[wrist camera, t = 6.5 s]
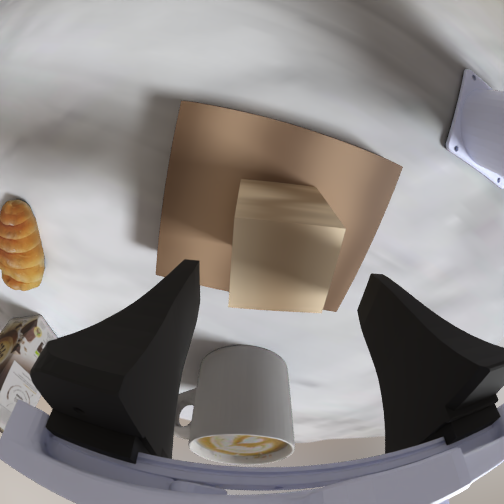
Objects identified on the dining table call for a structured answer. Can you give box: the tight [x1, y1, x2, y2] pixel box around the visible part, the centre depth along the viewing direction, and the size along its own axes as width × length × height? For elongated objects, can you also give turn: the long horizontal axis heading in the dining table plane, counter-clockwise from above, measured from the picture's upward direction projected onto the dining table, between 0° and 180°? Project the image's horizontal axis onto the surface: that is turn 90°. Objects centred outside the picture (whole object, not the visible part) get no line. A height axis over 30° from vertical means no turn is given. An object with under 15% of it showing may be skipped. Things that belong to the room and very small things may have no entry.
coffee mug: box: [174, 345, 295, 465], centre depth 25 cm, size 13×10×10 cm
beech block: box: [228, 179, 346, 313], centre depth 15 cm, size 4×4×6 cm
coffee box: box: [0, 315, 57, 433], centre depth 21 cm, size 9×6×16 cm
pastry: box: [0, 199, 45, 291], centre depth 20 cm, size 9×7×4 cm
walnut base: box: [156, 101, 403, 312], centre depth 19 cm, size 14×12×3 cm
